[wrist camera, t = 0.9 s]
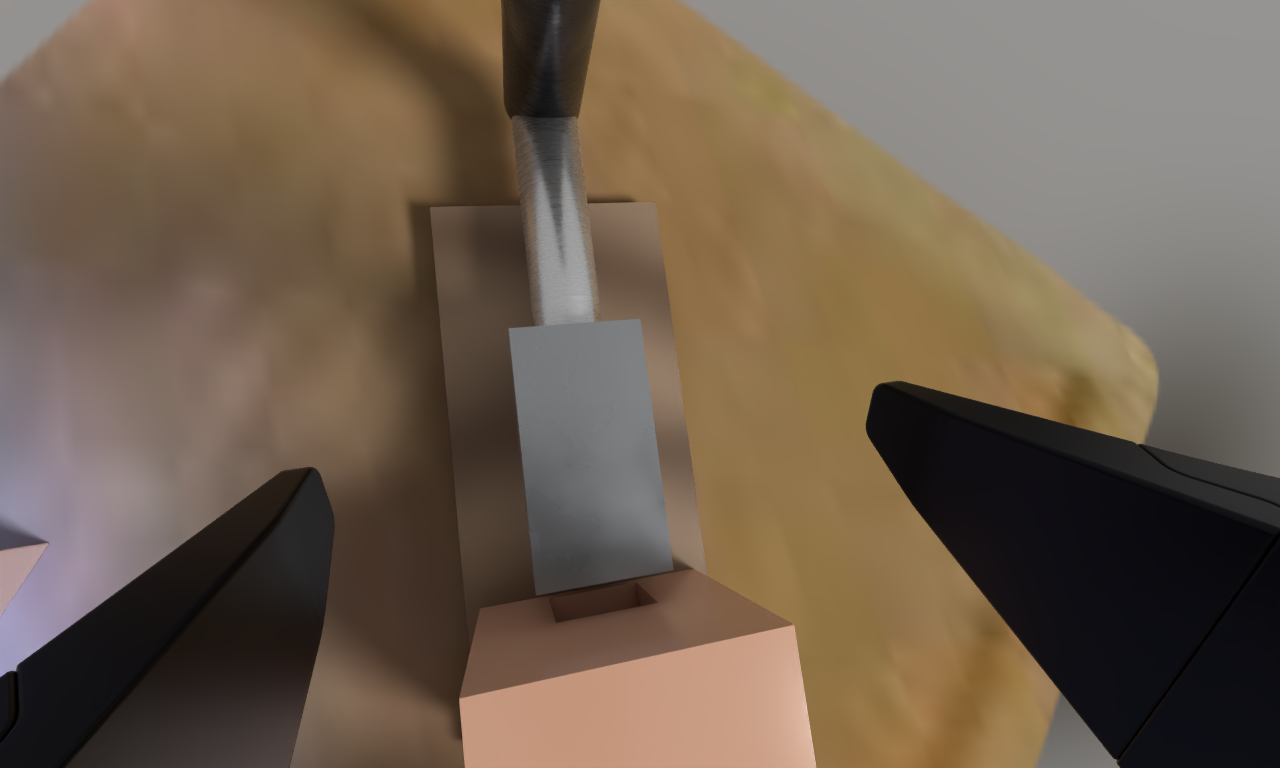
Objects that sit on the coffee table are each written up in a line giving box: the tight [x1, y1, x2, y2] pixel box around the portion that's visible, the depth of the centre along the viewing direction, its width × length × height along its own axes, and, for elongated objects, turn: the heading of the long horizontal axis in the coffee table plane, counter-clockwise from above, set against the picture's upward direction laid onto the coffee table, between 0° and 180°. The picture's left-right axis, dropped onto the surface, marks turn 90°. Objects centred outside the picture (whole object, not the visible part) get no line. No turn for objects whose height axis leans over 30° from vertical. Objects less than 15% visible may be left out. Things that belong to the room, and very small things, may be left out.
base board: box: [430, 202, 707, 654], centre depth 22 cm, size 20×9×1 cm, turn 8°
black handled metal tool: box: [501, 0, 602, 326], centre depth 15 cm, size 16×3×12 cm, turn 8°
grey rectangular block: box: [509, 319, 674, 595], centre depth 19 cm, size 8×4×4 cm, turn 8°
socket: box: [459, 569, 816, 768], centre depth 17 cm, size 4×8×8 cm, turn 98°
